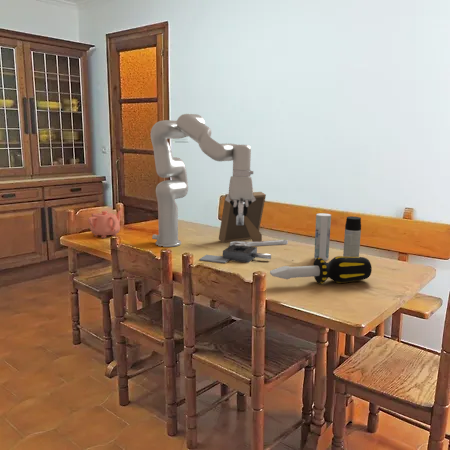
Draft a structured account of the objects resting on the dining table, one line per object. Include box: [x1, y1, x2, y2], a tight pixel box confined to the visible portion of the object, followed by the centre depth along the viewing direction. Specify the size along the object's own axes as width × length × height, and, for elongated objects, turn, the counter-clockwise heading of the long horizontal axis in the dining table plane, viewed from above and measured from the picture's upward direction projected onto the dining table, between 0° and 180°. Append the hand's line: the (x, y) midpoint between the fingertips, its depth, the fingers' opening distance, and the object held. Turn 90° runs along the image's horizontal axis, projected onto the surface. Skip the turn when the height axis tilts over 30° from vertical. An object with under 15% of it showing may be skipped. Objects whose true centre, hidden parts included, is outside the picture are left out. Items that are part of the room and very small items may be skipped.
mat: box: [198, 254, 230, 264], centre depth 206 cm, size 12×8×1 cm, turn 69°
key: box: [236, 198, 245, 225], centre depth 205 cm, size 6×3×12 cm, turn 9°
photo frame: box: [218, 191, 267, 244], centre depth 237 cm, size 15×22×25 cm
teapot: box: [87, 209, 124, 239], centre depth 249 cm, size 16×17×14 cm
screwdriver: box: [269, 255, 373, 285], centre depth 174 cm, size 39×10×10 cm, turn 103°
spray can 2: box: [313, 212, 332, 261], centre depth 208 cm, size 6×6×20 cm
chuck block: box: [222, 245, 272, 263], centre depth 208 cm, size 20×12×4 cm, turn 69°
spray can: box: [342, 216, 362, 257], centre depth 201 cm, size 7×7×20 cm
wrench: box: [229, 239, 288, 247], centre depth 232 cm, size 8×2×30 cm
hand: (240, 215), depth 206 cm, fingers closed on key, 3 cm apart
